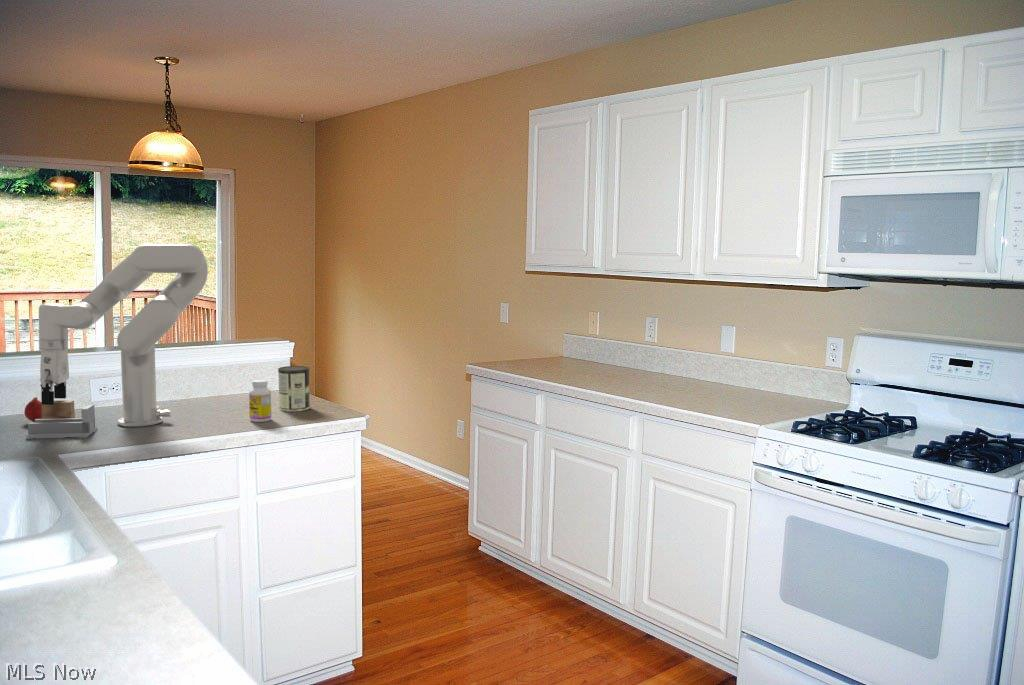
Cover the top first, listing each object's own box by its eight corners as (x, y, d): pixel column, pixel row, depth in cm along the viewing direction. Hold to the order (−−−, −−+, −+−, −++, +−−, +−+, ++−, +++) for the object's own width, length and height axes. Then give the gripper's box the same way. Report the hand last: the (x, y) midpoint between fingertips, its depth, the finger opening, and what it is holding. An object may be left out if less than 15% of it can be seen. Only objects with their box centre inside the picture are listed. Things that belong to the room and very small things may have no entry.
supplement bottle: (245, 420, 256) (244, 380, 254) (264, 417, 260) (263, 378, 259) (256, 423, 251) (255, 383, 249) (275, 420, 256) (274, 380, 254)
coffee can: (295, 404, 281) (294, 364, 279) (316, 408, 275) (315, 367, 274) (272, 409, 272) (271, 368, 270) (293, 413, 267) (292, 371, 265)
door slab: (75, 426, 244) (74, 400, 243) (71, 428, 241) (70, 402, 240) (46, 426, 242) (45, 400, 241) (42, 429, 239) (41, 402, 238)
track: (97, 429, 239) (95, 403, 238) (86, 437, 230) (85, 410, 229) (38, 431, 236) (37, 404, 235) (26, 438, 227) (24, 411, 226)
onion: (36, 425, 243) (35, 399, 242) (20, 424, 244) (18, 398, 243) (51, 421, 249) (49, 396, 248) (35, 420, 250) (33, 395, 249)
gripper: (56, 349, 230) (56, 407, 232) (77, 341, 247) (77, 396, 249) (27, 348, 229) (28, 406, 231) (51, 340, 246) (51, 395, 248)
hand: (54, 401), depth 240 cm, fingers open, 9 cm apart
